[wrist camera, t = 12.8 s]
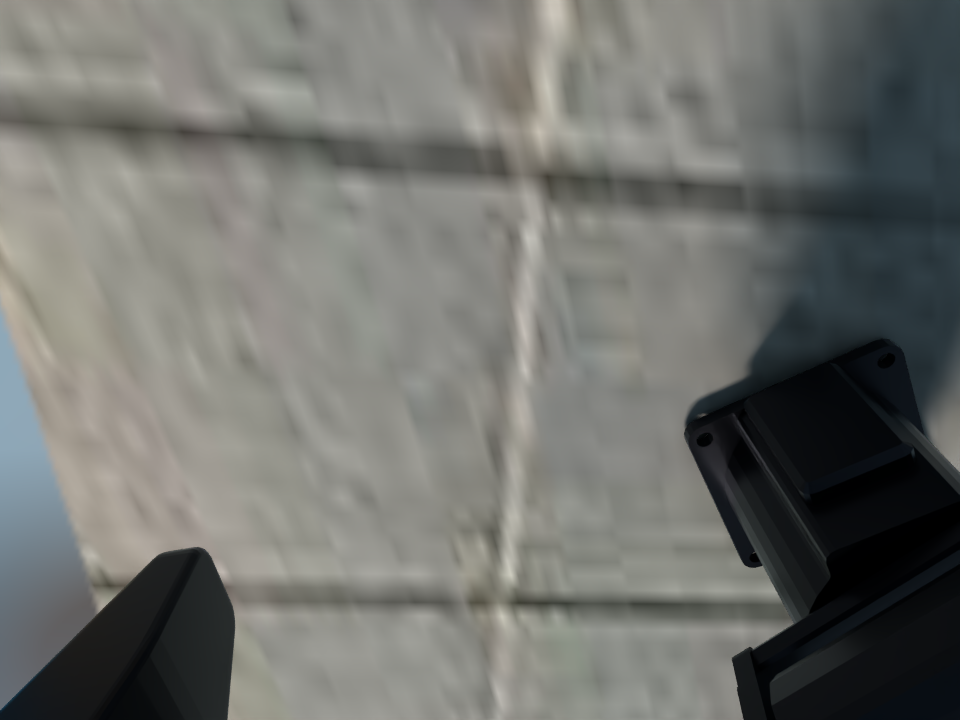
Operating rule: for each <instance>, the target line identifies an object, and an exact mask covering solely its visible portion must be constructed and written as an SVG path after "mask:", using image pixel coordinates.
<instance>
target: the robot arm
mask: <svg viewBox="0 0 960 720" xmlns="http://www.w3.org/2000/svg"><path fill="white" fill-rule="evenodd" d="M886 353H888V354H887V356H886V357H885V358H884V359H883V360H881V361H878V360H879V358H880V357H881V356H882V355H884V354H886ZM703 433H708V434H707V436H706V437H704V438H701V439H697V438H698V436H700V435H701V434H703ZM684 436H685V440H686V442H687V444H688V446H689V449H690V451H691V453H692V455H693V457H694V459H695V462H696V464H697V466H698V468H699V470H700V472H701V474H702V477H703V479H704V481H705V483H706V485H707V487H708V490H709V492H710V494H711V496H712V498H713V500H714V503H715V505H716V507H717V509H718V511H719V513H720V515H721V518H722V520H723V522H724V524H725V526H726V528H727V531H728V533H729V535H730V537H731V539H732V541H733V544H734V546H735V548H736V550H737V552H738V554H739V556H740V558H741V560H742V562H743V563H744V565H745V566H748V567H751V568H756V567H760V566H763V567H764V569H765V570H766V572H767V574H768V576H769V578H770V580H771V582H772V584H773V585H774V587H775V589H776V591H777V593H778V595H779V597H780V598H781V600H782V602H783V604H784V606H785V608H786V610H787V612H788V613H789V615H790V617H791V619H792V621H793V623H794V624H793V625H791V626H790V627H788V628H786V629H785V630H783V631H782V632H780V633H778V634H777V635H775V636H773V637H772V638H770V639H769V640H767V641H765V642H764V643H762V644H761V645H759V646H757V647H756V648H754V649H752V648H751V647H749V648H747V649H745V650H744V651H742V652H741V653H739V654H737V655H736V656H734V657H733V658H732V662H733V666H734V671H735V675H736V680H737V684H738V687H737V692H738V696H739V701H740V705H741V710H742V714H743V718H744V720H960V472H959V471H958V470H957V469H956V468H955V467H954V466H953V465H952V464H951V463H950V462H949V461H948V460H947V459H946V458H945V457H944V456H943V455H942V454H941V453H940V452H939V451H938V450H937V449H936V448H935V447H934V445H933V444H932V443H931V442H930V441H929V440H928V439H927V438H926V437H925V436H924V432H923V428H922V424H921V420H920V416H919V412H918V408H917V404H916V401H915V397H914V393H913V389H912V385H911V381H910V377H909V373H908V369H907V365H906V361H905V357H904V353H903V351H902V350H901V348H900V347H899V346H897V345H896V344H895V343H894V342H893V341H891V340H889V339H880V340H876V341H873V342H871V343H869V344H867V345H864V346H862V347H860V348H858V349H855V350H853V351H851V352H849V353H846V354H844V355H842V356H839V357H837V358H835V359H833V360H830V361H828V362H826V363H824V364H821V365H819V366H817V367H815V368H812V369H810V370H808V371H805V372H803V373H801V374H799V375H796V376H794V377H792V378H790V379H787V380H785V381H783V382H781V383H778V384H776V385H774V386H771V387H769V388H767V389H765V390H762V391H760V392H758V393H756V394H753V395H751V396H749V397H747V398H744V399H742V400H740V401H737V402H735V403H733V404H731V405H728V406H726V407H724V408H722V409H719V410H717V411H715V412H713V413H710V414H708V415H706V416H703V417H701V418H699V419H697V420H695V421H693V422H692V423H690V424H689V425H688V426H687V428H686V429H685V432H684ZM754 552H755V553H754ZM234 636H235V616H234V610H233V606H232V604H231V601H230V599H229V596H228V594H227V592H226V590H225V587H224V585H223V583H222V581H221V578H220V576H219V574H218V572H217V569H216V567H215V565H214V563H213V560H212V558H211V556H210V555H209V553H208V552H207V551H206V550H205V549H203V548H200V547H193V548H186V549H180V550H174V551H168V552H164V553H161V554H159V555H158V556H156V557H155V558H154V559H153V560H152V561H151V562H150V563H149V564H148V565H147V566H146V567H145V568H144V569H143V570H142V571H141V572H140V573H139V574H138V575H137V576H136V577H135V578H134V579H133V580H132V581H131V582H130V583H129V584H128V585H127V586H126V587H124V588H123V589H122V590H121V591H120V592H119V593H118V594H117V595H116V596H115V597H114V598H113V599H112V600H111V601H110V602H109V603H108V604H107V605H106V606H105V607H104V608H103V609H102V610H101V611H100V612H99V613H98V614H97V615H96V616H95V617H94V618H93V619H92V620H91V621H90V622H89V623H88V624H87V625H86V626H85V627H84V628H83V629H82V630H81V631H80V632H79V633H78V634H77V635H76V636H75V637H74V638H73V639H72V640H71V641H70V642H69V643H68V644H67V645H66V646H65V647H64V648H63V649H62V650H61V651H60V652H59V653H58V654H57V655H56V656H55V657H54V658H53V659H52V660H51V661H50V662H49V663H48V664H47V665H46V666H45V667H44V668H43V669H42V670H41V671H40V672H39V673H38V674H36V676H35V677H33V678H32V679H31V680H30V682H28V683H27V684H26V685H25V686H24V687H23V688H22V689H21V690H20V691H19V692H18V693H17V694H16V695H15V696H14V697H13V698H12V699H11V700H10V701H9V702H8V703H7V704H6V705H5V706H4V707H3V708H2V709H1V710H0V720H227V718H228V706H229V695H230V683H231V671H232V660H233V648H234Z"/></svg>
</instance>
